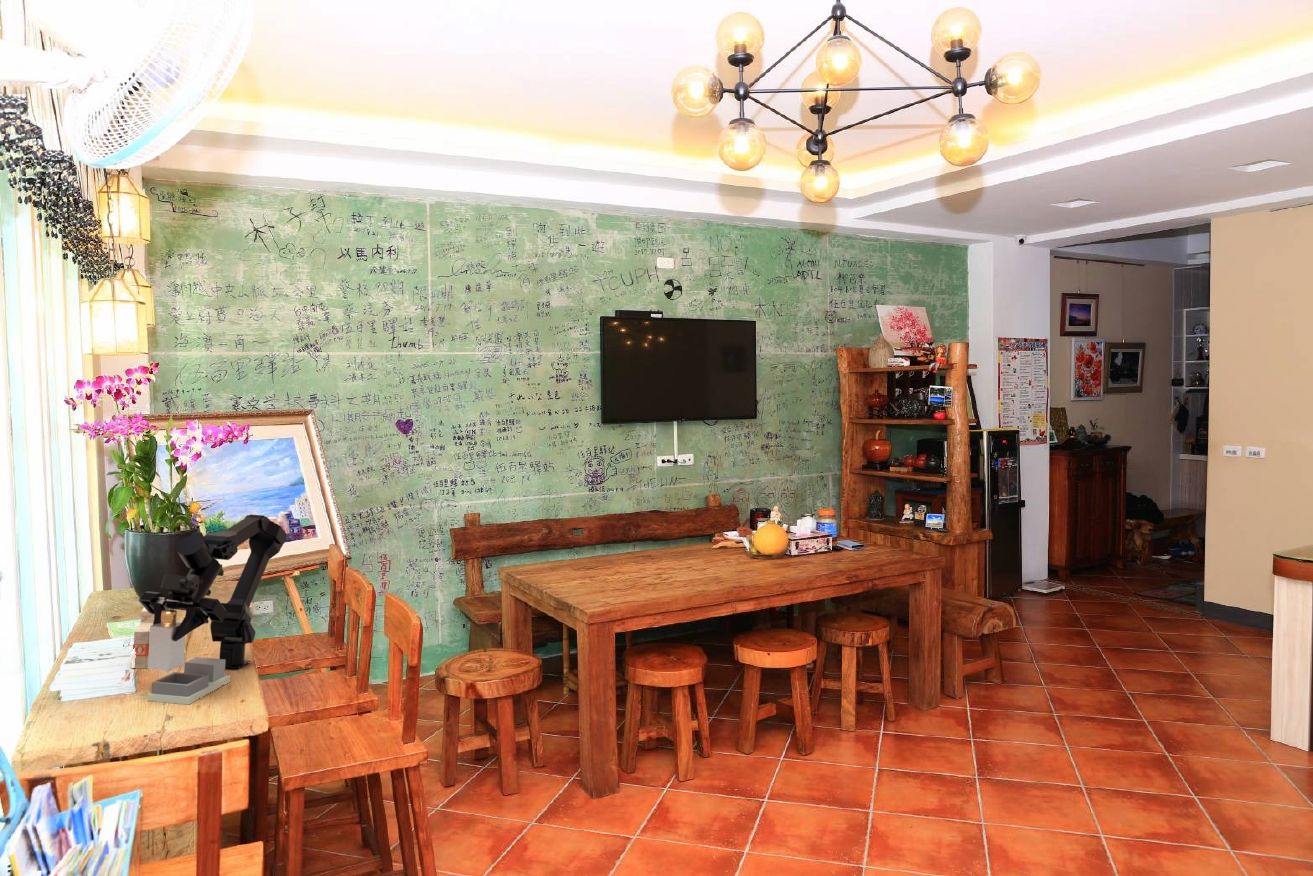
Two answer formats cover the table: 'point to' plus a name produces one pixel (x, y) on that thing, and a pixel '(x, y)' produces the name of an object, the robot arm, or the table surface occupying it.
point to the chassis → (190, 682)
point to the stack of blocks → (143, 639)
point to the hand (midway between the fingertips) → (163, 639)
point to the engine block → (165, 644)
